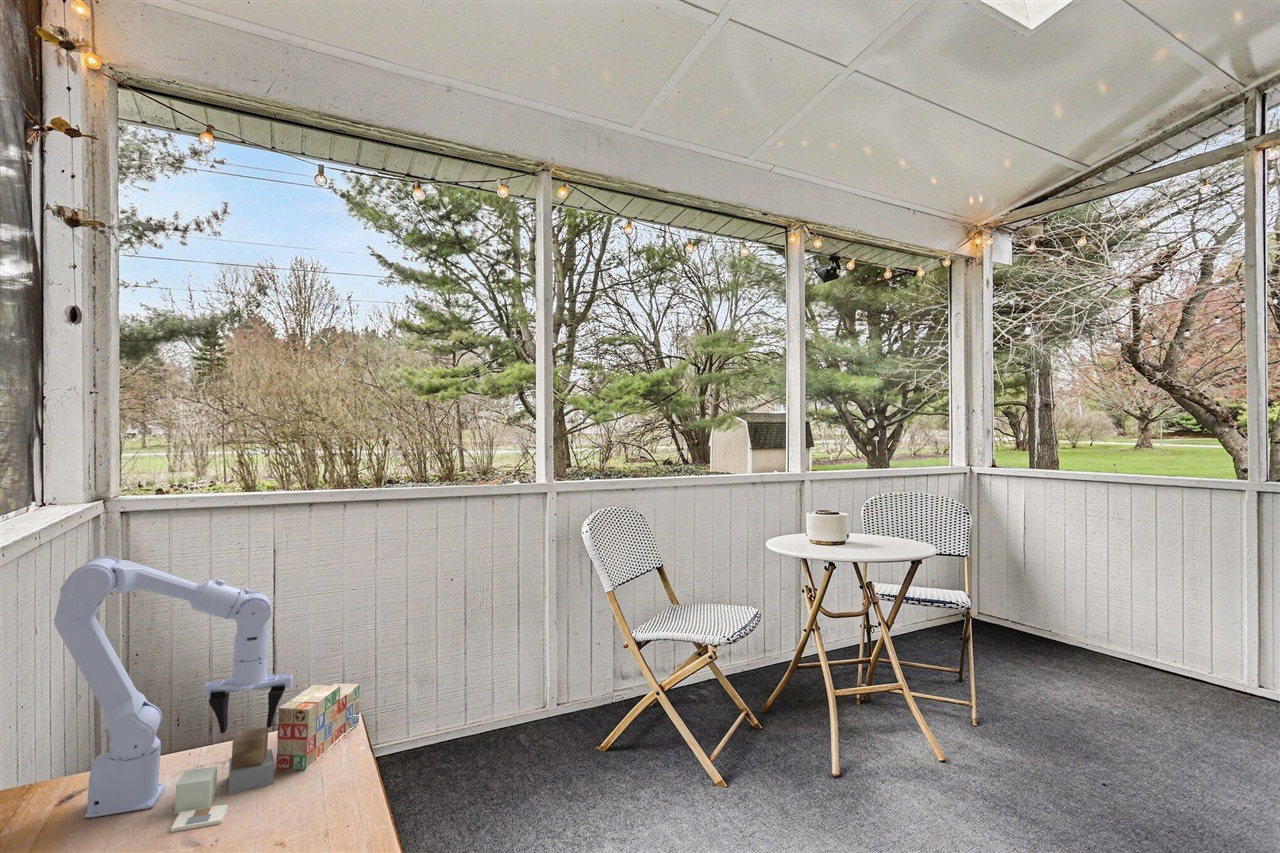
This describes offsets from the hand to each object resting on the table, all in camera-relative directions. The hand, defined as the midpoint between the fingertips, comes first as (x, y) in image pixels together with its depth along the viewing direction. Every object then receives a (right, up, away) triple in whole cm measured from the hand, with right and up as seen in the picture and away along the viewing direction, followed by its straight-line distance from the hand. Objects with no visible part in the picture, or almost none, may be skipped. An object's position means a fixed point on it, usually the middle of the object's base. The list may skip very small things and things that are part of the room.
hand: (246, 728), depth 120 cm
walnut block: (+1, -6, -1) cm, 6 cm away
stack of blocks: (+7, -11, +13) cm, 19 cm away
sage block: (-3, -9, -9) cm, 13 cm away
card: (+1, -9, -14) cm, 17 cm away
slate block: (+2, -10, -1) cm, 10 cm away
